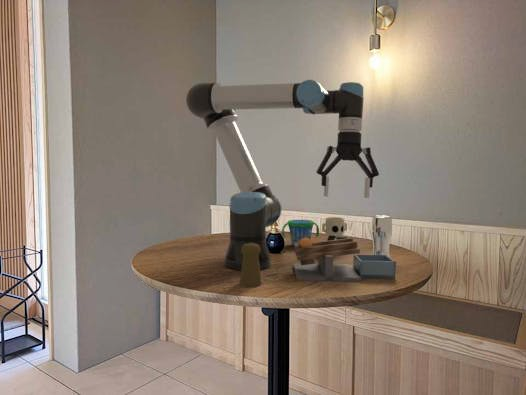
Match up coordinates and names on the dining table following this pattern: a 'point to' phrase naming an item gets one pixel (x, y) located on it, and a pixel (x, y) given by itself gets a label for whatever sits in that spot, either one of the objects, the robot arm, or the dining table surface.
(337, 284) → the dining table surface
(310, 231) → the snack cup
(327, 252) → the tilt lever
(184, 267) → the dining table surface
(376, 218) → the beer glass
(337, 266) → the lever base
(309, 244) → the ball
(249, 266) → the brown upright piece
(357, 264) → the cup
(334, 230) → the character mug
